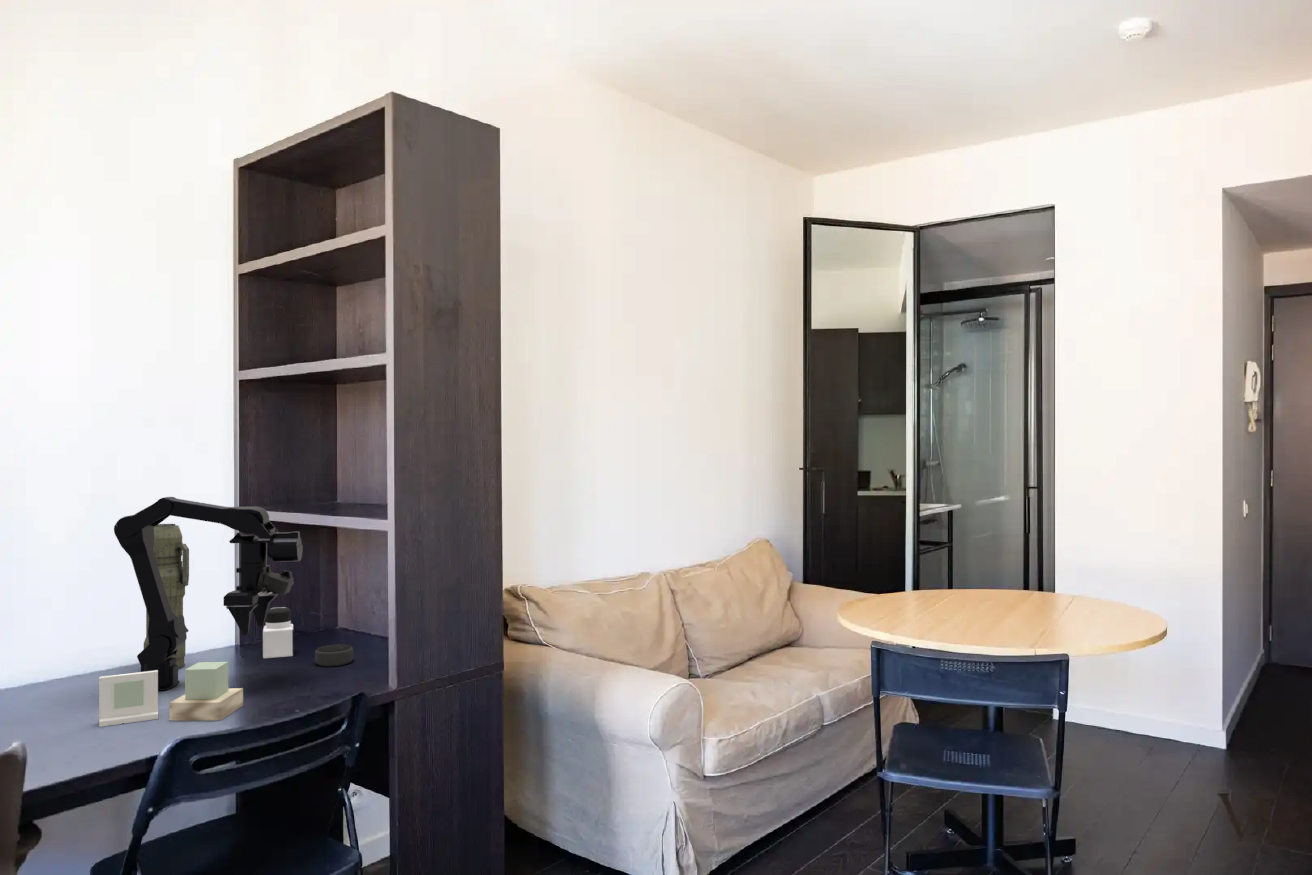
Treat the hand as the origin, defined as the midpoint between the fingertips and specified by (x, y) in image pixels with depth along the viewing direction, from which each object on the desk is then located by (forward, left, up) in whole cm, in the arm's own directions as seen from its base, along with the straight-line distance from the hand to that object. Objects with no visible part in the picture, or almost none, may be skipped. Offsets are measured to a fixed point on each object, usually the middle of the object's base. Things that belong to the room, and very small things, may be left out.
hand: (253, 630), depth 205 cm
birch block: (-1, -22, -12) cm, 26 cm away
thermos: (-27, +16, -12) cm, 34 cm away
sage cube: (-1, -22, -8) cm, 24 cm away
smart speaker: (+13, +18, -12) cm, 26 cm away
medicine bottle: (-4, +28, -12) cm, 31 cm away
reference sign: (-15, -26, -12) cm, 32 cm away
